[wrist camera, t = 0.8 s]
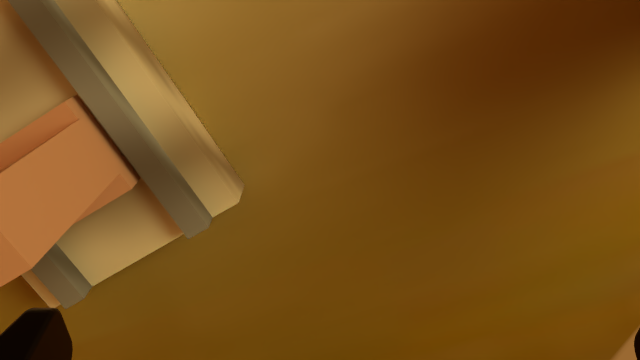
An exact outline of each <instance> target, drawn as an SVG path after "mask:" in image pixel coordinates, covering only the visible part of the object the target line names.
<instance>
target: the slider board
mask: <svg viewBox="0 0 640 360" xmlns="http://www.w3.org/2000/svg"><path fill="white" fill-rule="evenodd" d="M75 95H78V96H79V97H80V99H81V100H82V101H83V103H84V104H85V105H86V107H87V108H88V109H89V111H90V112H91V113H92V115H93V116H94V117H95V119H96V120H97V121H98V123H99V124H100V125H101V127H102V128H103V129H104V130H105V132H106V133H107V134H108V136H109V137H110V138H111V140H112V141H113V142H114V144H115V145H116V146H117V148H118V149H119V150H120V152H121V153H122V154H123V156H124V157H125V158H126V160H127V161H128V162H129V163H130V165H131V166H132V167H133V169H134V170H135V171H136V173H137V174H138V175H139V177H140V179H139V181H138V182H137V183H136V184H135V186H134V187H133V188H132V189H131V190H129V191H128V192H126V193H124V194H123V195H121V196H119V197H118V198H116V199H114V200H113V201H111V202H109V203H108V204H106V205H104V206H103V207H101V208H99V209H98V210H96V211H94V212H93V213H91V214H89V215H88V216H86V217H84V218H83V219H81V220H79V221H78V222H76V223H74V224H73V225H72V226H71V227H70V228H69V229H68V230H67V231H66V232H65V233H64V234H63V235H62V236H61V237H60V239H59V240H58V241H57V242H56V243H55V244H54V245H53V246H52V247H51V248H50V249H49V250H48V252H47V253H46V254H45V255H44V256H43V257H42V258H41V259H40V260H39V261H38V262H37V263H36V265H35V266H34V267H33V268H32V269H30V270H28V271H26V272H25V273H23V274H21V275H22V277H23V278H24V279H25V280H26V281H27V282H28V283H29V285H30V286H31V287H32V288H33V289H34V290H35V291H36V292H37V294H38V295H39V296H40V297H41V298H42V299H43V300H44V301H45V303H46V304H47V305H48V306H49V307H50V308H56V307H57V306H59V305H62V306H63V307H64V308H65V309H67V308H68V307H70V306H72V305H74V304H75V303H77V302H79V301H81V300H83V299H84V298H85V296H86V295H87V293H88V292H89V291H90V289H91V288H92V286H94V285H96V284H97V283H99V282H101V281H103V280H104V279H106V278H108V277H110V276H111V275H113V274H115V273H117V272H118V271H120V270H122V269H124V268H125V267H127V266H129V265H131V264H132V263H134V262H136V261H138V260H139V259H141V258H143V257H145V256H146V255H148V254H150V253H152V252H153V251H155V250H157V249H159V248H160V247H162V246H164V245H166V244H167V243H169V242H171V241H173V240H174V239H176V238H178V237H180V236H181V235H183V234H185V236H186V237H187V238H188V239H190V238H191V237H193V236H195V235H197V234H198V233H200V232H202V231H204V230H205V229H207V228H209V225H210V223H211V220H212V218H213V217H214V216H216V215H218V214H220V213H221V212H223V211H225V210H227V209H228V208H230V207H232V206H234V205H235V204H237V203H239V200H240V197H241V194H242V191H243V188H244V184H243V182H242V181H241V179H240V178H239V176H238V175H237V174H236V172H235V171H234V169H233V168H232V166H231V165H230V164H229V162H228V161H227V159H226V158H225V156H224V155H223V153H222V152H221V151H220V149H219V148H218V146H217V145H216V143H215V142H214V141H213V139H212V138H211V136H210V135H209V133H208V132H207V130H206V129H205V128H204V126H203V125H202V123H201V122H200V120H199V119H198V118H197V116H196V115H195V113H194V112H193V110H192V109H191V107H190V106H189V105H188V103H187V102H186V100H185V99H184V97H183V96H182V94H181V93H180V92H179V90H178V89H177V87H176V86H175V84H174V83H173V82H172V80H171V79H170V77H169V76H168V74H167V73H166V71H165V70H164V69H163V67H162V66H161V64H160V63H159V61H158V60H157V59H156V57H155V56H154V54H153V53H152V51H151V50H150V48H149V47H148V46H147V44H146V43H145V41H144V40H143V38H142V37H141V36H140V34H139V33H138V31H137V30H136V28H135V27H134V25H133V24H132V23H131V21H130V20H129V18H128V17H127V15H126V14H125V12H124V11H123V10H122V8H121V7H120V5H119V4H118V2H117V1H116V0H0V143H2V142H3V141H5V140H6V139H8V138H9V137H11V136H12V135H14V134H16V133H17V132H19V131H20V130H22V129H23V128H25V127H26V126H28V125H29V124H31V123H32V122H34V121H35V120H37V119H38V118H40V117H42V116H43V115H45V114H46V113H48V112H49V111H51V110H52V109H54V108H55V107H57V106H58V105H60V104H61V103H63V102H65V101H66V100H68V99H70V98H71V97H73V96H75Z"/></svg>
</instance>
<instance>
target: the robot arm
mask: <svg viewBox="0 0 640 360" xmlns="http://www.w3.org/2000/svg"><path fill="white" fill-rule="evenodd" d="M634 347H635V353H636V357H637V360H640V328H639V330H638V332H637V334H636V336H635V340H634ZM72 350H73V349H72V341H71V338H70V335H69V333H68V330H67V327H66V325H65V322H64V320H63V317H62V315H61V313H60V311H59V310H58V309H56V308H31V309H28V310H27V311H25V312H24V313H23V314H22V315H21V316H20V317H19V318H17V319H16V320H15V321H14V322H13V323H12V324H11V325H10V326H9V327H8V328H7V329H6V330H5V331H4V332H3V333H2V334H1V335H0V360H71V359H72Z"/></svg>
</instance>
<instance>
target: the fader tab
mask: <svg viewBox="0 0 640 360" xmlns="http://www.w3.org/2000/svg"><path fill="white" fill-rule="evenodd" d="M139 179H140V177H139V175H138V174H137V173H136V171H135V170H134V169H133V167H132V166H131V165H130V163H129V162H128V161H127V160H126V158H125V157H124V156H123V154H122V153H121V152H120V150H119V149H118V148H117V146H116V145H115V144H114V142H113V141H112V140H111V138H110V137H109V136H108V134H107V133H106V132H105V130H104V129H103V128H102V127H101V125H100V124H99V123H98V121H97V120H96V119H95V117H94V116H93V115H92V113H91V112H90V111H89V109H88V108H87V107H86V105H85V104H84V103H83V101H82V100H81V99H80V97H79V96H78V95H75V96H73V97H71V98H70V99H68V100H66V101H65V102H63V103H61V104H60V105H58V106H57V107H55V108H54V109H52V110H51V111H49V112H48V113H46V114H45V115H43V116H42V117H40V118H38V119H37V120H35V121H34V122H32V123H31V124H29V125H28V126H26V127H25V128H23V129H22V130H20V131H19V132H17V133H16V134H14V135H12V136H11V137H9V138H8V139H6V140H5V141H3V142H2V143H0V287H1V286H3V285H5V284H6V283H8V282H10V281H11V280H13V279H15V278H16V277H18V276H20V275H21V274H23V273H25V272H26V271H28V270H30V269H32V268H33V267H34V266H35V265H36V263H37V262H38V261H39V260H40V259H41V258H42V257H43V256H44V255H45V254H46V253H47V252H48V250H49V249H50V248H51V247H52V246H53V245H54V244H55V243H56V242H57V241H58V240H59V239H60V237H61V236H62V235H63V234H64V233H65V232H66V231H67V230H68V229H69V228H70V227H71V226H72V225H73V224H74V223H76V222H78V221H79V220H81V219H83V218H84V217H86V216H88V215H89V214H91V213H93V212H94V211H96V210H98V209H99V208H101V207H103V206H104V205H106V204H108V203H109V202H111V201H113V200H114V199H116V198H118V197H119V196H121V195H123V194H124V193H126V192H128V191H129V190H131V189H132V188H133V187H134V186H135V184H136V183H137V182H138V181H139Z"/></svg>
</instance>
